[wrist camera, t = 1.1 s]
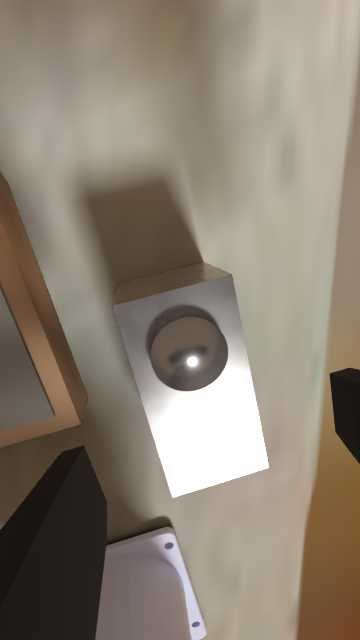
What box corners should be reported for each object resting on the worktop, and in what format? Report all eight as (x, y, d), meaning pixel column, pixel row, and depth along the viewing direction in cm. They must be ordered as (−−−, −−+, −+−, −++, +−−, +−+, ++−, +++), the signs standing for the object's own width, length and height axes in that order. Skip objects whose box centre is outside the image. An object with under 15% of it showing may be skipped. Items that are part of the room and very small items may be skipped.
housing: (234, 407, 17) (272, 474, 12) (162, 428, 17) (173, 506, 12) (202, 261, 14) (235, 275, 10) (118, 283, 14) (110, 309, 10)
